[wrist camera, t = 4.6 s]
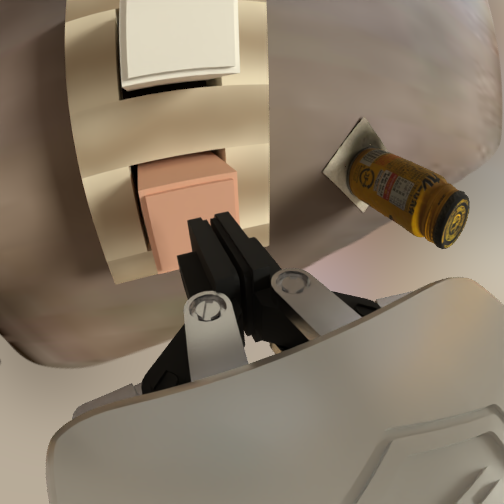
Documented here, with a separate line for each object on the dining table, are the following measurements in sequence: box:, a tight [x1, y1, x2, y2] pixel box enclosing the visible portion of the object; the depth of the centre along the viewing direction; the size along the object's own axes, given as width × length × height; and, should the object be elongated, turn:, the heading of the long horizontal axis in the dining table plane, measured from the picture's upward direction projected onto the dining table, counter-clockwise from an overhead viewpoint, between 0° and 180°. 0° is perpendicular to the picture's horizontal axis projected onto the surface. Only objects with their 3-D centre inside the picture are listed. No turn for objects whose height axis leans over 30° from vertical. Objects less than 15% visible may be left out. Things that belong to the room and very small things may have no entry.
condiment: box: [323, 117, 469, 249], centre depth 22 cm, size 7×8×12 cm
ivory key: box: [119, 0, 240, 91], centre depth 10 cm, size 5×5×6 cm
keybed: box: [65, 0, 270, 284], centre depth 16 cm, size 20×12×4 cm, turn 2°
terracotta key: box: [138, 150, 240, 274], centre depth 16 cm, size 5×5×6 cm
